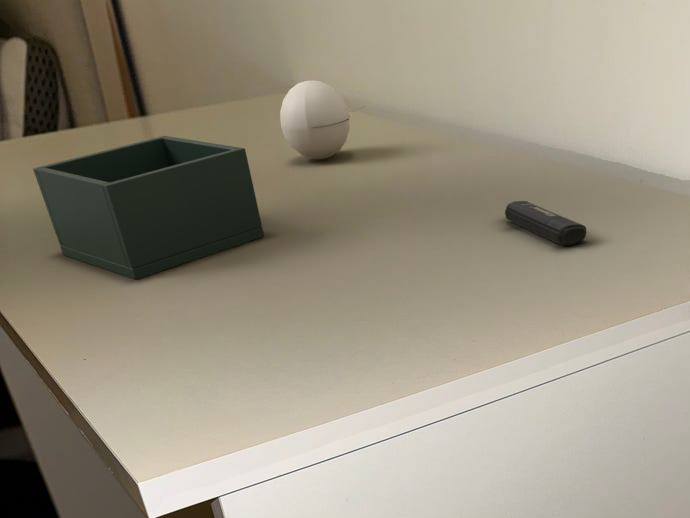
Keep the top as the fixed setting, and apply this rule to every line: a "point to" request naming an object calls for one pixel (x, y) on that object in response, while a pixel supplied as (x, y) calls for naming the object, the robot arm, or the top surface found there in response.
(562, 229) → the usb stick
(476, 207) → the top surface
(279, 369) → the top surface
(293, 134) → the white oval body
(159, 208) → the bin
